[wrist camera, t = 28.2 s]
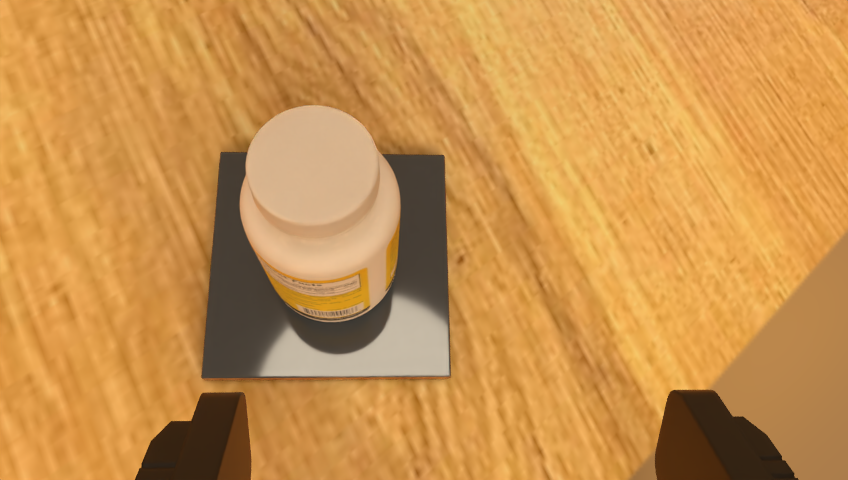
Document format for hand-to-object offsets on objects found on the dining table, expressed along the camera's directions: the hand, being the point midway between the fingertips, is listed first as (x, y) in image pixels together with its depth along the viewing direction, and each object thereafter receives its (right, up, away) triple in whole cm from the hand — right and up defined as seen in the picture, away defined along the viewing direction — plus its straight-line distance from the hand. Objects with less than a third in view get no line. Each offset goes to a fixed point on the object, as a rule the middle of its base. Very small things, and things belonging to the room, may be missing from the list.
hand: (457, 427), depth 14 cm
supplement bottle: (-4, +2, +17) cm, 18 cm away
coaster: (-5, +3, +18) cm, 18 cm away
